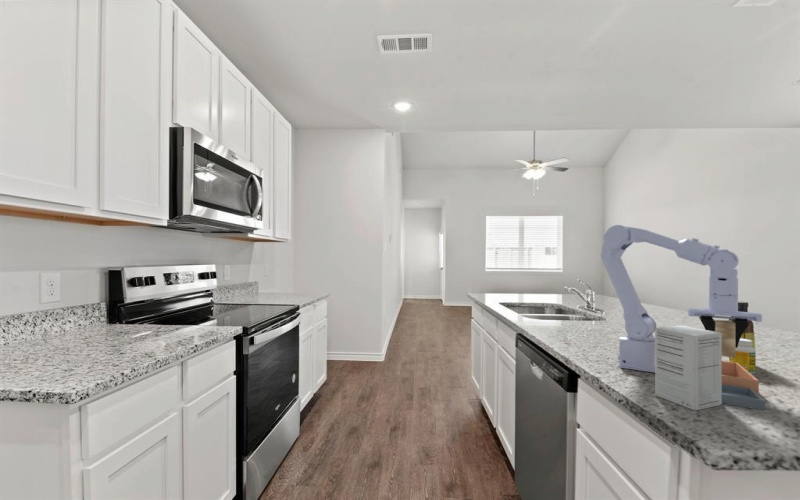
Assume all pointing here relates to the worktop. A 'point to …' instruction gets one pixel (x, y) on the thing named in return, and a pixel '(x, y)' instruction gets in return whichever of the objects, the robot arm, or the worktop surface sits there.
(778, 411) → the worktop surface
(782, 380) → the worktop surface
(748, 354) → the supplement bottle
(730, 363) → the peach storage tray
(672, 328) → the supplement box
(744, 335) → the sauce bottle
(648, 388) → the worktop surface
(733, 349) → the maple peg
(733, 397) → the slate tray
